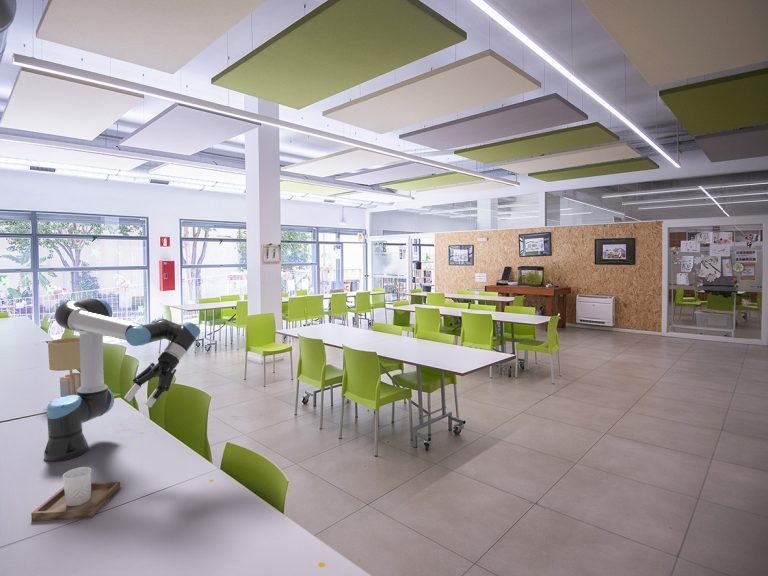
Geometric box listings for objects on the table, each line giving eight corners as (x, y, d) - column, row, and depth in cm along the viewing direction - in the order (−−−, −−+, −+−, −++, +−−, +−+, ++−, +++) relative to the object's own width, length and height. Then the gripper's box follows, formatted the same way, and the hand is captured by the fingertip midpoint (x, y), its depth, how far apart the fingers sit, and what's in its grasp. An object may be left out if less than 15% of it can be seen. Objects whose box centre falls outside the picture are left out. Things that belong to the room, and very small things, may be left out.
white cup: (62, 510, 142) (60, 480, 141) (66, 498, 149) (65, 469, 148) (90, 503, 146) (89, 475, 145) (94, 492, 153) (92, 464, 152)
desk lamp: (77, 406, 242) (73, 344, 240) (42, 406, 243) (38, 343, 240) (100, 395, 262) (97, 337, 259) (68, 395, 262) (65, 337, 259)
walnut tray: (31, 520, 138) (31, 513, 137) (67, 490, 155) (67, 483, 155) (91, 517, 139) (91, 510, 139) (120, 488, 157) (120, 481, 157)
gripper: (197, 365, 174) (163, 413, 162) (159, 357, 187) (125, 402, 175) (185, 354, 169) (149, 403, 157) (147, 347, 182) (111, 392, 170)
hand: (136, 402), depth 166 cm, fingers open, 13 cm apart
